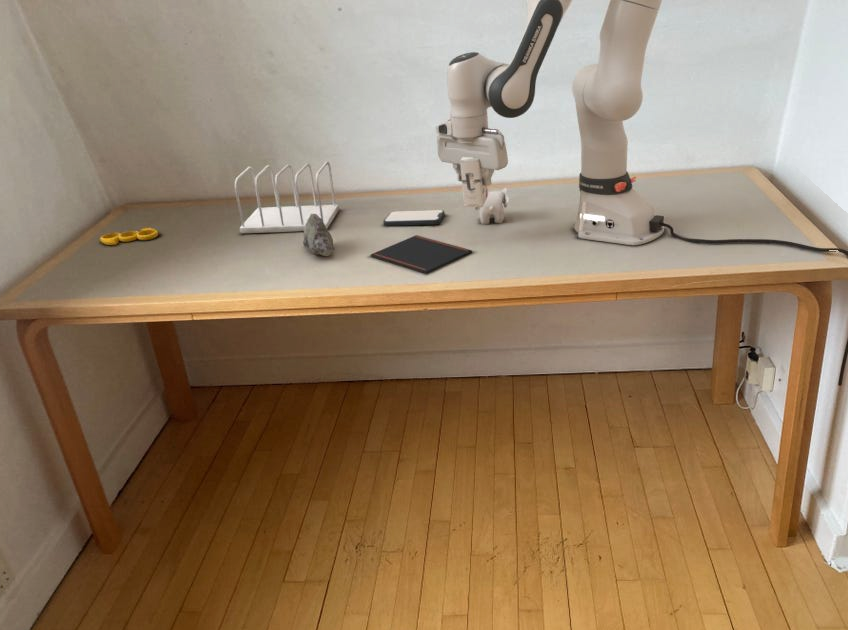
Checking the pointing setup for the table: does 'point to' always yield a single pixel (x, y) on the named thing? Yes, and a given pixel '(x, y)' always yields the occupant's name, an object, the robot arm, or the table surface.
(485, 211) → the elephant figurine
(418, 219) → the smartphone
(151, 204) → the table surface
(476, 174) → the ink box
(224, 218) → the table surface
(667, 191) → the table surface
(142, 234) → the yellow linked rings
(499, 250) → the table surface
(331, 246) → the mineral rock
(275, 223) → the file sorter
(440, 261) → the mat
